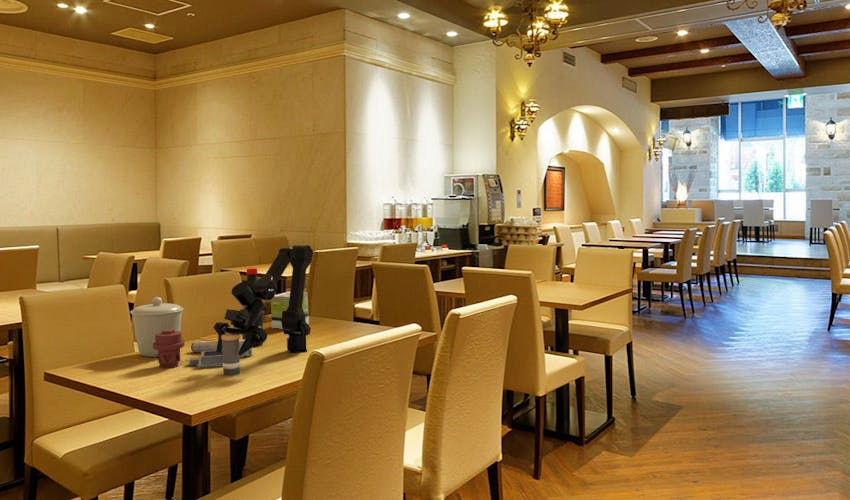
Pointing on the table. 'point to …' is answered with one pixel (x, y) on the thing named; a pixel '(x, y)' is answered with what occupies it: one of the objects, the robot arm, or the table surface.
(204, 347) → the light grey elongated piece
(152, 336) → the canister
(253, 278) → the cola bottle
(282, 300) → the tea box
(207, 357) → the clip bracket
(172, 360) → the mechanical component
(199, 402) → the table surface
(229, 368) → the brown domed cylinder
